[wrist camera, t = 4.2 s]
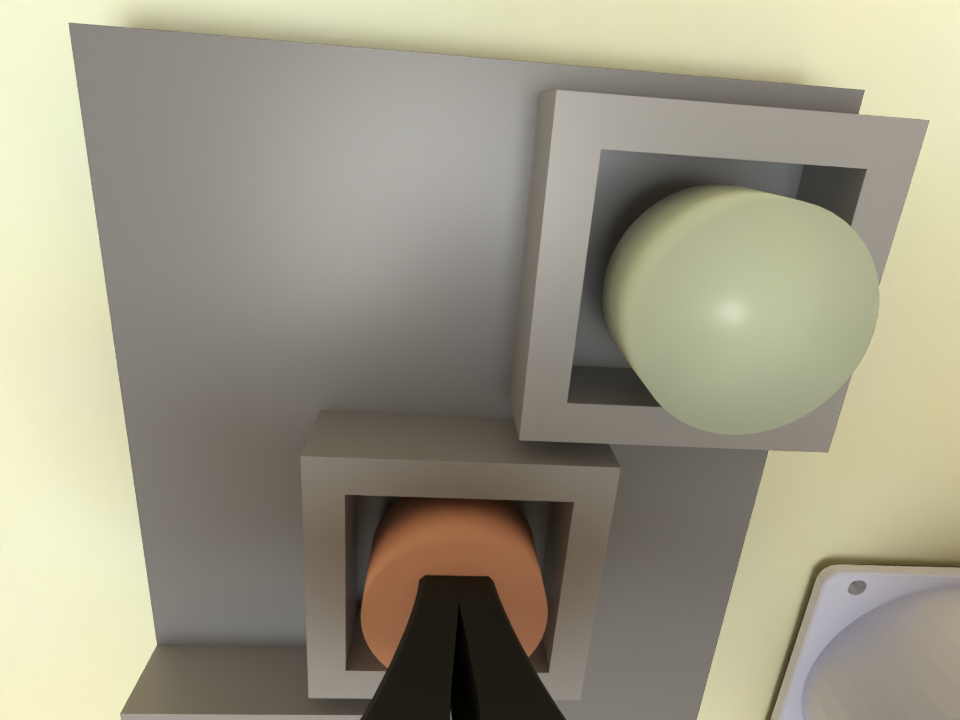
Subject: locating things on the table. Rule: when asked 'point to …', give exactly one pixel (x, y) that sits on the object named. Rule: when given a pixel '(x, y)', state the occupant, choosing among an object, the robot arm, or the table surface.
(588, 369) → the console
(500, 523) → the button terracotta
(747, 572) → the table surface
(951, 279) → the table surface
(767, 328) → the button sage
